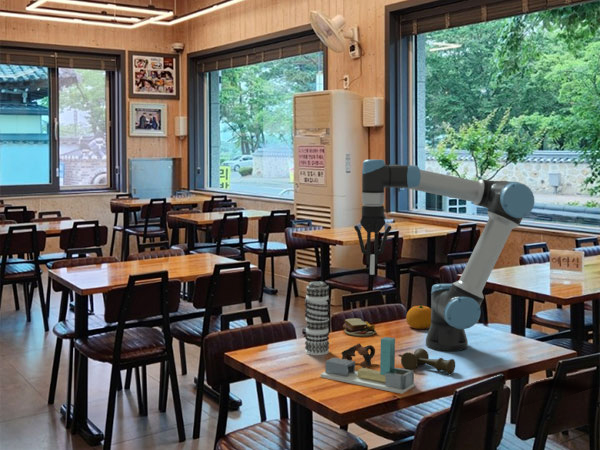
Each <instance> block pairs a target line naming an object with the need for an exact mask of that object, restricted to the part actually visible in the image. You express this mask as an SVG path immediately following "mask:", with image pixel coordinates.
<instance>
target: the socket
mask: <svg viewBox="0 0 600 450" xmlns="http://www.w3.org/2000/svg"><path fill="white" fill-rule="evenodd" d="M414 383H415V371H414V370H407V369H405V368H403V367H402V368H401V367H397V366H396V367H395V372H394V373H391V372H387V373H386V380H385V386H388V387H393V388H398V389H403V390H404V389H405V388H407V387H409V386H410V385H412V384H414Z"/></svg>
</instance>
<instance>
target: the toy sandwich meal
mask: <svg viewBox="0 0 600 450" xmlns="http://www.w3.org/2000/svg"><path fill="white" fill-rule="evenodd" d="M375 326H376V325H375V324H372V325H371V324H370V323H369V322H368V321H367V320H366V321H364V320H362V319H361V318H355V317H354V318H347V319H344V324H343V325H342V328H343V332H345V334H347V335H348V336H351V337H359V338H361V337H369V336H370V337H371V336H374V335H375V334H376V333H377V330H376V329H375Z"/></svg>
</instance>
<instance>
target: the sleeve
mask: <svg viewBox="0 0 600 450" xmlns="http://www.w3.org/2000/svg"><path fill="white" fill-rule="evenodd" d="M324 363H325V368H324V372H325V373H329V374H334V375H339V376H344V377H348V373H353V374H354V373H355V371H356V361H354V360H352V361H350V360H345V359H342V358H338V357H332V358H330V359H326V360H325V362H324Z"/></svg>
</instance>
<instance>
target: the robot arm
mask: <svg viewBox="0 0 600 450" xmlns="http://www.w3.org/2000/svg"><path fill="white" fill-rule="evenodd" d="M361 175H362V176H361V182H362V183H361V185H362V186H361V188H362V190H361V191H362V192H361V204H362V206H361V220H360V222H359V223H358V224H355V225H354V226H353V228H354V230H355V232H356V234H357V238H358V243H359V246H360V251H361V254H364V255H366V264H367V265H369V275H370V276H371V275H372V276H373V275H375V270H376V269H375V267H376V265H377V266H378V264H379V255H382V254H384V252H385V248H386V244H387V240H388V236H389V233H390V231H391V230H392V227H393V226H392V225H390V224H388V223H386V220H385V207H384V204H385V188H397V189H398V188H403V189H409V190H413V191H419V192H423V193H428V194H433V195H437V196H443V197H447V198H452V199H453V198H454V199H456V200H457V199H458V200H463V201H468V202H471V203H473V205H474V206H478V207H482V208H485V209H487V212H486V213H487V216H488V220H487V222H486V224H485V226H484V228H483V231H482V232H481V234H480V236H479V238H478V240H477V242H476V245H475V246H474V248H473V251H472V253H471V254H470V257H469V258H468V261H467V263H466V265H465V268H464V269H463V271H462V273H461V276H460V278H459V280H456V281H455V282H452V283H436V284H433V285H432V286H431V292H430V294H431V301H430V304H431V305H430V309H431V326H430V328H428V331H427V335H426V338H425V346H426V347H427V348H429V349H432V350H437V351H444V352H447V351H448V352H454V351H455V352H458V351H462V350H463V349H464V350H466V349H467V348H468V347H469V346H468V343H469V341H468V337H467V333H466V331H465V330H467V329H470V328H472V327H473V326H475V325H476V324H477V323H478V321H479V320H480V318H481V312H482V311H481V304H482V303H483V301H484V298H485V297H484V294H483V290H484V288H485V286H486V283H487V282H488V279H489V277H490V275H491V273H492V271H493V269H494V267H495V265H496V264H497V261H498V259H499V257H500V255H501V253H502V250H503V249H504V248H505V245H506V243H507V241H508V238H509V237H510V234H511V232H512V230H513V229H515V228H518V227H520V224H521V222H522V220H523V218H525V217H526V216H528V215H529V214H530V213H531V212H532V211H533V209H534V207H535V195H534V193H533V191H532V190H531V188H530V187H529V186H528V185H527V184H525V183H524V184H523V183H521V182H519V181H510V180H509V181H508V180H488V179H482V178H480V179H478V180H473V179H468V178H464V177H463V178H462V177H459V176H453V175H449V174H444V173H438V172H434V171H429V170H424V169H420V168H419V166H418V165H412V164H407V165H406V164H405V165H402V164H397V163H396V164H394V163H392V164H391V163H390V164H386V161H385V160H384V159H364V161H363V162H362V170H361ZM362 228H363V229H364V231H366V249H365V245H364V240H363V236H362V231H361V230H362ZM382 229H384V233H383V236H382V240H381V244H380V247H379V233H380V231H381V230H382ZM372 233H374V241H373V243H374V249H373V250H374V254H371V245H372V244H371V243H372V242H371V241H372V240H371V239H372V238H371V237H372Z"/></svg>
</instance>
